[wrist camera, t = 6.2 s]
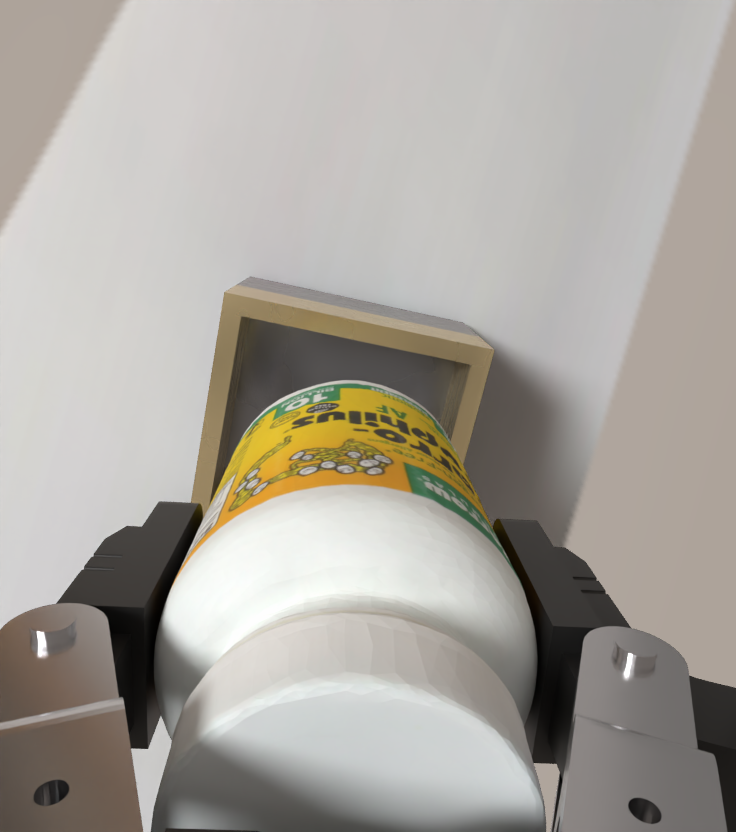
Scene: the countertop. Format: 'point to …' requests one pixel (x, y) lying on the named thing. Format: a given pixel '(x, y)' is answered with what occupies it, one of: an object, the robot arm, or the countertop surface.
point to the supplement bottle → (347, 636)
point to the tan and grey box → (330, 363)
